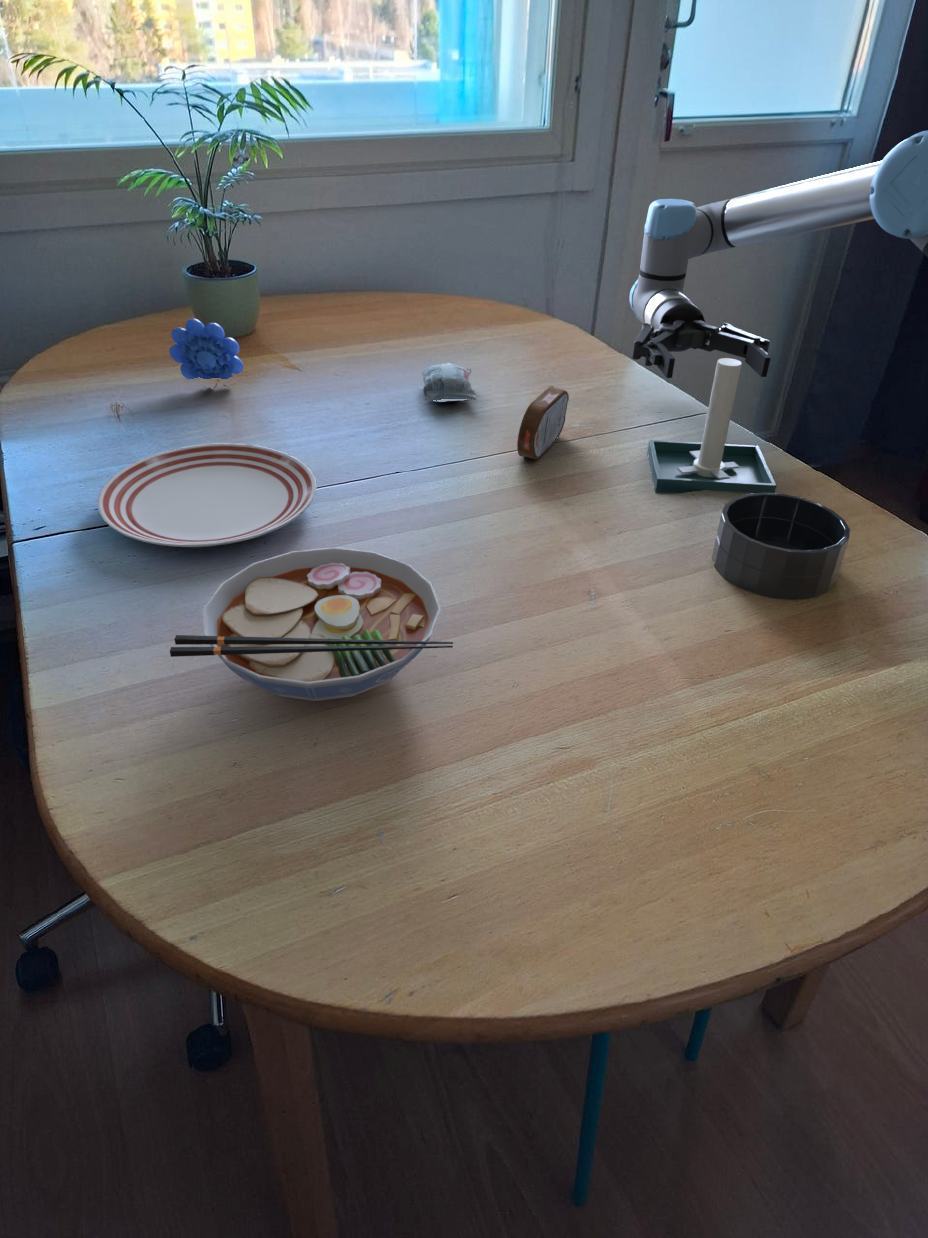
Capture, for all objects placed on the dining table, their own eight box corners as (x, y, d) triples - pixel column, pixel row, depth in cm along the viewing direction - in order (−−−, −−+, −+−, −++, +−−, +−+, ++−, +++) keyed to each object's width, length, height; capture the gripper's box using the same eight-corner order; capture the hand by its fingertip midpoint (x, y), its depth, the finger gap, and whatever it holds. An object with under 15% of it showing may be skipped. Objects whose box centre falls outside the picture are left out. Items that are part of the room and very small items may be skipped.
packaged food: (471, 384, 154) (471, 356, 151) (476, 410, 144) (477, 381, 142) (421, 385, 154) (421, 357, 151) (424, 411, 144) (423, 382, 141)
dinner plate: (351, 530, 111) (350, 506, 109) (132, 586, 99) (126, 562, 98) (274, 449, 130) (272, 428, 128) (82, 489, 119) (77, 467, 117)
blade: (720, 455, 131) (742, 348, 121) (751, 481, 124) (777, 370, 114) (665, 460, 129) (683, 353, 119) (694, 487, 122) (715, 375, 112)
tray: (755, 458, 131) (758, 445, 130) (773, 499, 121) (776, 485, 119) (647, 452, 132) (649, 439, 131) (655, 492, 122) (657, 478, 120)
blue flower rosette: (175, 400, 145) (161, 327, 138) (177, 385, 151) (164, 315, 144) (246, 396, 147) (237, 324, 140) (246, 381, 153) (237, 312, 146)
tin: (549, 428, 139) (554, 377, 134) (568, 432, 138) (573, 380, 133) (513, 465, 128) (517, 410, 123) (533, 469, 127) (538, 414, 122)
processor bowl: (817, 545, 110) (831, 496, 106) (847, 609, 99) (865, 556, 95) (703, 538, 111) (714, 489, 107) (721, 601, 100) (733, 548, 96)
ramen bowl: (450, 603, 98) (451, 540, 93) (452, 745, 79) (453, 676, 75) (226, 602, 97) (215, 539, 93) (175, 746, 79) (159, 675, 74)
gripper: (745, 344, 141) (798, 392, 124) (594, 345, 139) (627, 395, 122) (755, 296, 137) (811, 340, 120) (599, 297, 135) (634, 341, 118)
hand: (718, 368), depth 121 cm, fingers open, 13 cm apart
